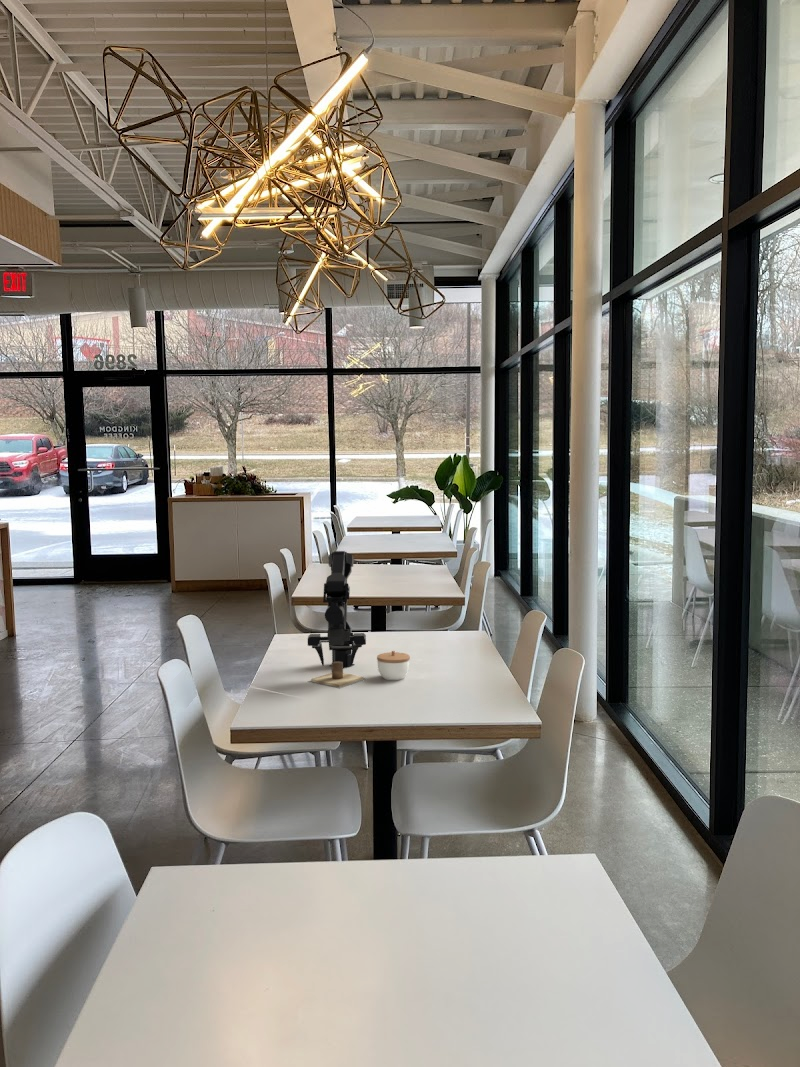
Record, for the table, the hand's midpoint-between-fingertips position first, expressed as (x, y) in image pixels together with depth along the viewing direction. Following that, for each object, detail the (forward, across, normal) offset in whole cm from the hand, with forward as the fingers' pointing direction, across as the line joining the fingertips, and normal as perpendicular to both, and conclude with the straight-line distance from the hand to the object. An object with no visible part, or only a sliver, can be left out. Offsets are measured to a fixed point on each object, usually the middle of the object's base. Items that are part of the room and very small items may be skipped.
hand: (337, 665), depth 289 cm
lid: (+5, 0, 0) cm, 5 cm away
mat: (+5, 0, 0) cm, 5 cm away
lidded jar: (+6, +18, +2) cm, 19 cm away
